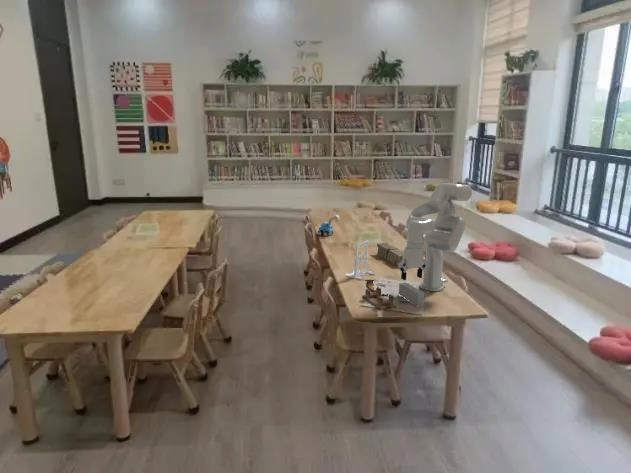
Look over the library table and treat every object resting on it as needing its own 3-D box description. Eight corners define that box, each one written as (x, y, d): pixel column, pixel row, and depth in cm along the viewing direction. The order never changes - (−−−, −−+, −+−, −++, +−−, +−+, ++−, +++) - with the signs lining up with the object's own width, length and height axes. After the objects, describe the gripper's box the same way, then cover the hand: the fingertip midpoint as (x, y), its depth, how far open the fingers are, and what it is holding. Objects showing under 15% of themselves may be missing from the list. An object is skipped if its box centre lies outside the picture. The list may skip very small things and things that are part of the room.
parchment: (394, 296, 239) (394, 294, 239) (377, 297, 237) (377, 295, 237) (377, 280, 263) (377, 279, 262) (361, 281, 260) (361, 280, 260)
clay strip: (404, 294, 241) (405, 282, 239) (423, 306, 227) (424, 292, 225) (398, 295, 240) (399, 283, 238) (417, 307, 226) (418, 293, 224)
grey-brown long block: (409, 267, 288) (386, 253, 314) (410, 254, 286) (387, 241, 312) (398, 268, 286) (376, 254, 312) (399, 255, 283) (377, 242, 309)
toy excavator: (334, 238, 349) (335, 216, 345) (316, 235, 358) (316, 213, 353) (340, 236, 356) (341, 214, 352) (322, 233, 365) (322, 211, 360)
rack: (376, 294, 240) (376, 285, 239) (396, 307, 225) (397, 297, 223) (362, 297, 237) (362, 287, 235) (381, 310, 221) (382, 300, 220)
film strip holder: (355, 269, 279) (356, 237, 274) (375, 274, 272) (377, 241, 266) (342, 275, 268) (344, 242, 263) (363, 280, 260) (365, 246, 255)
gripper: (423, 242, 233) (420, 274, 237) (395, 244, 225) (392, 278, 229) (433, 245, 226) (430, 278, 230) (404, 248, 219) (401, 282, 223)
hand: (411, 278), depth 230 cm, fingers open, 9 cm apart
